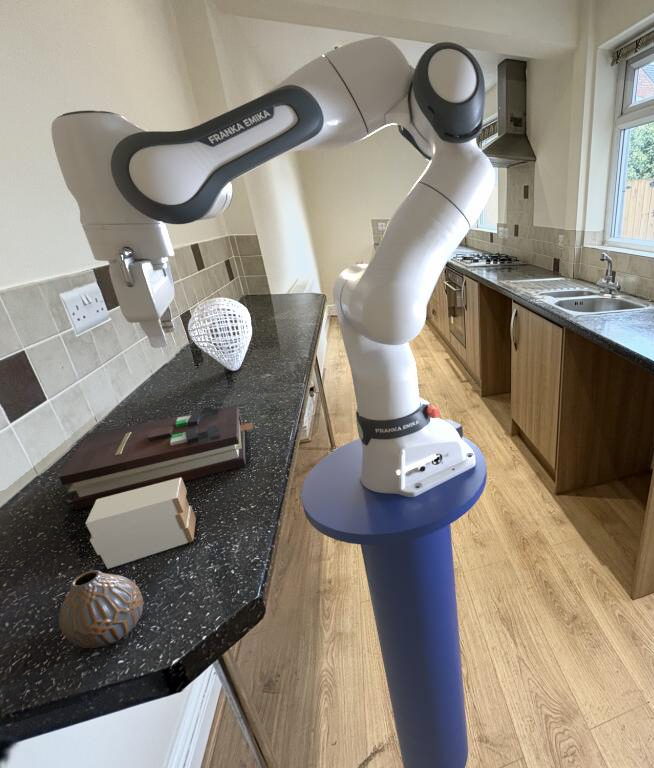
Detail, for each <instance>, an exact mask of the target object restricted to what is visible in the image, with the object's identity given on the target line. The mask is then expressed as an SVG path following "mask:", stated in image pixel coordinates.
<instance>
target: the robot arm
mask: <svg viewBox="0 0 654 768" xmlns="http://www.w3.org/2000/svg"><path fill="white" fill-rule="evenodd" d="M485 83H486V82H485V77H484V73H483V70H482V67H481V65H480V63H479V61H478V59H477V58H476V57H475V56H474V55H473V53H471V51H469V50H468V49H467V48H465V47H464V46H462V45H460V44H458V43H455V42H450V41H443V42H437V43H435V44H433V45H431V46H430V47H428V49H426V50H425V51H424V52H423V54H421V56H420V58H419V60H418V62H417V63H416V66H415V68H414V67H413V66H412V65H411V64H410V63H409V61H408V60H407V57H406V56H405V54H404V53H403V52H402V50H401V49H400V48H399V47H398V46H397V45H396V44H395V43H394V42H393V41H392V40H390V39H388V38H386V37H383V36H373V37H368V38H363V39H360V40H356V41H353V42H350V43H347V44H344V45H342V46H339V47H337V48H334V49H332V50H329V51H327V52H325V53H324V54H322V55H320V56H318V57H316V58H314V59H312V60H311V61H309V62H307V63H306V64H304V65H303V66H301V67H300V68H298V69H296V70H295V71H294V72H292V73H291V74H290V75H289V76H287V77H286V78H285V79H283V80H282V81H281V82H280V83H278V84H276V85H275V86H273V87H272V88H271V89H269V90H268V91H267V92H265V93H264V94H262V95H260V96H259V97H256V98H255V99H252V100H250V101H248V102H245V103H244V104H242V105H239V106H237V107H235V108H233V109H230V110H229V111H227V112H224V113H222V114H221V115H218V116H215V117H213V118H211V119H208V120H207V121H205V122H203V123H201V124H198V125H196V126H193V127H191V128H187V129H182V130H174V131H173V130H171V131H169V130H168V131H163V130H161V131H159V130H157V131H149V130H147V129H145V128H143V127H141V126H138V125H137V124H135V123H133V122H132V121H129V120H128V119H127V118H126V117H124V116H123V115H121V114H119V113H115V112H112V111H106V110H91V109H90V110H76V111H69V112H65V113H62V114H61V115H59V116H57V117H56V118H54V120H53V121H52V123H51V129H50V130H51V132H50V133H51V139H52V144H53V148H54V153H55V155H56V160H57V162H58V166H59V168H60V172H61V174H62V177H63V180H64V183H65V186H66V188H67V189H68V191H69V192H70V194H71V195H72V196H73V198H74V199H75V202H76V203H77V206H78V210H79V220H80V221H79V222H80V224H81V227H82V229H83V232H84V234H85V237H86V240H87V242H88V245H89V248H90V250H91V253H92V256H93V258H94V260H96V261H99V262H100V261H101V262H108V265H109V267H108V272H109V277H110V280H111V284H112V287H113V290H114V293H115V296H116V299H117V302H118V306H119V309H120V311H121V313H122V315H123V317H124V319H125V320H126V322H128V323H130V324H133V323H139V325H140V328H141V329H142V331H143V332H144V334H145V335H146V336H147V339H148V341H149V344H150V346H151V347H152V348H154V349H159V348H164V347H166V346H167V345H168V342H169V341H168V338H167V333H173V332H174V331H175V329H176V326H175V324H174V320H173V313H172V307H171V303H172V302H173V301H174V299H175V298H176V291H175V290H176V289H175V283H174V279H173V273H172V269H171V264H170V260H169V258H172V257H175V252H174V248H173V245H172V242H171V238H170V236H169V231H168V229H167V226H166V224H169V225H186V224H190V223H194V222H197V221H204V220H210V219H214V218H217V217H218V216H220V215H222V214H223V213H225V212H226V211H227V210H228V209H229V207H230V205H231V203H232V200H233V197H234V195H233V192H234V191H233V185H232V182H233V181H234V180H236V179H239V178H240V177H242V176H244V175H246V174H248V173H250V172H252V171H254V170H256V169H257V168H260V167H261V166H264V165H265V164H267V163H269V162H271V161H272V160H273V161H274V160H275V159H276V158H277V159H278V157H281V156H284V155H287V154H290V153H294V152H299V151H300V152H301V151H315V152H323V153H329V152H330V153H331V152H333V151H337V150H340V149H344V148H347V147H349V146H351V145H354V144H356V143H358V142H361V141H363V140H364V139H366V138H368V137H370V136H371V135H373V134H374V133H376V132H378V131H380V130H381V129H383V128H385V127H388V126H391V125H397V128H398V132H399V134H400V135H401V136H402V137H403V138H404V139H405V140H406V141H407V142H409V143H410V144H411V146H412V147H413V148H414V149H415V150H416V152H417V153H418V154H419V155H420V156H421V157H423V158H424V159H425V160H426V161H428V162H429V163H428V165H427V167H426V169H425V170H424V171H423V173H422V174H421V176H420V177H419V178H418V179H417V181H416V182H415V183H414V185H413V186H412V188H411V189H410V191H409V192H408V193H407V195H406V196H405V198H404V199H403V201H402V202H401V203H400V204H399V206H398V207H397V209H396V210H395V211H394V213H393V214H392V216H391V217H390V218H389V220H388V221H387V223H386V226H385V230H384V233H383V235H382V238H381V240H380V241H379V244H378V246H377V248H376V250H375V252H374V254H373V256H372V257H371V259H370V261H369V263H359V264H354V265H351V266H348V267H346V268H345V269H344V270H342V271H341V272H340V273H339V274H338V275H337V276H336V278H335V281H334V284H333V288H332V298H333V302H334V308H335V312H336V316H337V322H338V325H339V330H340V333H341V338H342V342H343V345H344V349H345V353H346V357H347V360H348V364H349V367H350V372H351V378H352V384H353V390H354V394H355V402H356V407H357V408H356V411H355V416H356V420H355V422H356V427H357V428H356V429H357V433H358V437H359V438H360V440H361V441H362V467H361V473H360V481H361V483H362V484H363V486H365V487H366V488H367V489H369V490H371V491H374V492H378V493H390V494H400V495H403V496H406V497H415V496H417V495H419V494H421V493H423V492H425V491H427V490H429V489H431V488H433V487H435V486H437V485H439V484H441V483H443V482H445V481H447V480H449V479H451V478H453V477H455V476H457V475H459V474H461V473H463V472H465V471H467V470H469V469H471V468H472V467H474V466H475V464H476V459H475V455H474V452H473V451H472V449H471V448H470V447H469V446H468V445H467V444H466V443H465V442H464V441H463V440H461V438H462V437H464V434H463V433H464V432H463V425H462V424H459V423H458V422H456V421H453V420H451V419H448V418H446V419H442V418H439V416H440V415H441V414H440V413H441V411H440V410H439V408H437V406H435V405H431V403H430V402H429V401H427V400H426V399H424V398H422V396H420V389H419V387H420V386H419V379H418V378H419V377H418V369H417V367H418V366H417V362H416V360H415V358H414V355H413V353H412V349H411V347H410V343H409V342H411V341H413V340H414V339H415V338H416V337H417V336H418V335H419V334H420V333H421V331H422V330H423V328H424V326H425V323H426V320H427V307H428V304H429V301H430V299H431V296H432V295H433V291H434V290H435V288H436V285H437V283H438V280H439V279H440V276H441V273H442V272H443V270H444V268H445V266H446V264H447V263H448V261H450V258H452V255H453V254H454V253H455V251H456V250H457V249H458V247H459V245H460V244H461V242H463V240H464V238H465V236H466V235H467V234H468V232H469V231H470V229H471V228H472V227H473V225H474V224H475V222H476V221H477V219H478V218H479V216H480V214H481V213H482V210H483V209H484V207H485V205H486V203H487V201H488V199H489V197H490V195H491V192H492V190H493V188H494V185H495V181H496V173H495V170H494V167H493V164H492V162H491V161H490V159H489V157H488V156H487V155H486V154H485V152H483V151H482V150H481V149H480V147H479V146H478V144H477V143H478V142H477V138H478V137H479V136H481V133H482V132H483V125H484V123H483V122H484V113H485V105H486V84H485ZM359 438H358V439H359Z"/></svg>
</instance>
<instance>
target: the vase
mask: <svg viewBox="0 0 654 768" xmlns="http://www.w3.org/2000/svg"><path fill="white" fill-rule="evenodd" d="M143 611H144V598H143V594H142V592H141V590H140V588H139V586H138V585H137V584H136V583H135V582H134V581H132V580H131V579H129V578H128V577H125V576H124V575H119V574H113V573H105V572H102V571H101V570H97V569H93V570H89V571H85V572H83V573H81V574H79V575H78V576H76V577H74V579H73V580H72V581H71V583H70V586H69V591H68V593H67V595H66V596H65V598H64V600H63V602H62V604H61V606H60V609H59V612H58V624H59V629H60V631H61V633H62V635H63V636H64V638H65V639H66V640H67V641H69V642H70V643H71V644H72V645H75V646H76V647H80V648H85V649H95V648H101V647H102V648H103V647H105V646H109V645H111V644H115V643H116V642H118V641H119V640H122V638H124V637H125V636H127V635H128V634H129V633H130V632H131V631H132V630H133V629H134V627H135V626H136V625H137V623H138V622H139V621H140V618H141V617H142V614H143Z"/></svg>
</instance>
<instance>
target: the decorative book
mask: <svg viewBox="0 0 654 768" xmlns="http://www.w3.org/2000/svg"><path fill="white" fill-rule="evenodd" d="M223 404H224V401H223V402H217V403H216V402H215V403H214V404H213V406H209V407H203V409H202V410H201V411H194V412H192V413H189V414H183V415H177V416H173V417H168V418H167V417H166V418H163V419H158V420H157V419H156V420H151V421H147V422H143V423H137V424H133V425H127V426H122V427H116V428H112V429H107V430H103V431H102V430H101V431H96V432H92V433H87V435H86V436H85V438H84V439H83V441H81V443H80V445H79V446H78V448H77V449H76V450H75V452H74V453H73V455H72V456H71V458H70V460H69V461H68V462H67V464H66V466H65V467H64V469H63V470H62V471H61V473H60V474H59V476H58V479H59V481H60V483H61V485H62V486H67V485H70V486H69V488H68V490H67V492H66V493H71V492H76V493H75V495H74V496H73V498H72V500H71V504H72V506H73V508H74V510H80V509H84V508H87V507H91V506H94V504H95V502H96V500H97V499H100V498H104V497H108V496H112V495H115V494H119V493H123V492H127V491H131V490H134V489H138V488H142V487H146V486H150V485H154V484H157V483H161V482H165V481H169V480H173V479H177V478H181V477H182V480H183V482H186V481H187V482H188V481H191V480H195V479H198V478H203V477H205V476H210V475H214V474H217V473H221V472H225V471H229V470H232V469H237V468H240V467H244V466H246V465H247V463H246V432H245V431H249V430H253V428H254V422H249V423H243V421H242V420H243V419H242V417H241V413H240V410H239V406H238V404H233V405H228V406H224V407H219V406H223ZM214 407H218V408H214ZM213 408H214V409H213Z"/></svg>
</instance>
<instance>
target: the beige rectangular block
mask: <svg viewBox="0 0 654 768" xmlns="http://www.w3.org/2000/svg"><path fill="white" fill-rule="evenodd" d="M196 522H197V518H196V515H195V513H194V510H193V506H192V505H189V500H188V499H187V498H186V499H185V506H184V512H183V513H180V514H176V515H173V516H169V517H166V518H163V519H159V520H156V521H153V522H149V523H146V524H142V525H139V526H136V527H132V528H129V529H126V530H122V531H119V532H115V533H112V534H109V535H105V536H102V537H99V538H95V539H93V537H92V535H90V536H91V537H90V538H89V542H90V544H91V546H92V547H93V550H94V551H95V553H96V555H97V556H100V558H101V559H102V562H103V563H104V565H105V567H106V570H109V569H112V568H115V567H118V566H121V565H125V564H127V563H130V562H134V561H137V560H140V559H143V558H147V557H149V556H152V555H155V554H158V553H162V552H164V551H167V550H170V549H173V548H176V547H179V546H182V545H186V544H188V543H192V542H194V539H195V530H196Z"/></svg>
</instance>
